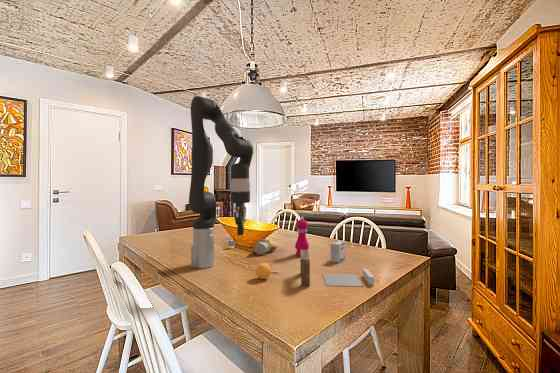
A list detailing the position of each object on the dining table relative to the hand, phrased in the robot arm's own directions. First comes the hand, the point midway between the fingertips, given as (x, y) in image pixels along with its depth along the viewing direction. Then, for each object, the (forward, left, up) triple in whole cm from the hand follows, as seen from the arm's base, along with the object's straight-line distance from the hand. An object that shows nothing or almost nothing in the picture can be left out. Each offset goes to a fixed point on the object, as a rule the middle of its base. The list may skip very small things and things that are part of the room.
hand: (240, 234), depth 107 cm
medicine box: (+42, +28, -17) cm, 53 cm away
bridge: (+25, 0, -17) cm, 30 cm away
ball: (+9, 0, -14) cm, 17 cm away
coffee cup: (-15, +51, -18) cm, 56 cm away
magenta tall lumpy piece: (+25, +38, -17) cm, 49 cm away
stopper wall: (+49, 0, -17) cm, 52 cm away
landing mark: (+39, 0, -17) cm, 42 cm away
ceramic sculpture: (+5, +42, -17) cm, 46 cm away
